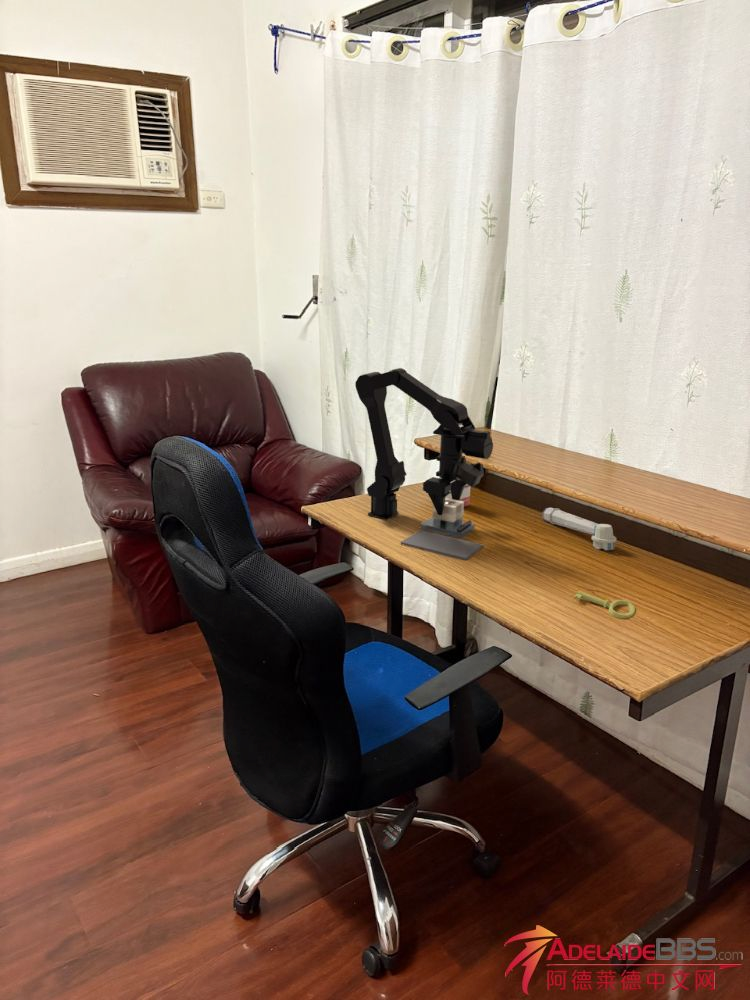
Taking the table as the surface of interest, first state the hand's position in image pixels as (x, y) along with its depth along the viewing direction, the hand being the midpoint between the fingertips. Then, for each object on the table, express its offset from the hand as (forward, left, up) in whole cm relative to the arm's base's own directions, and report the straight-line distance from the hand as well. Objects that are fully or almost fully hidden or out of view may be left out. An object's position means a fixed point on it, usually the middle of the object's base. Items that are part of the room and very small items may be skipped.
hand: (448, 510), depth 191 cm
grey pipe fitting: (+30, +16, -6) cm, 35 cm away
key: (+48, -21, -6) cm, 53 cm away
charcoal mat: (+4, -11, -5) cm, 13 cm away
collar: (0, 0, -2) cm, 2 cm away
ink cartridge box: (-8, +20, -6) cm, 22 cm away
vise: (0, 0, -5) cm, 5 cm away
